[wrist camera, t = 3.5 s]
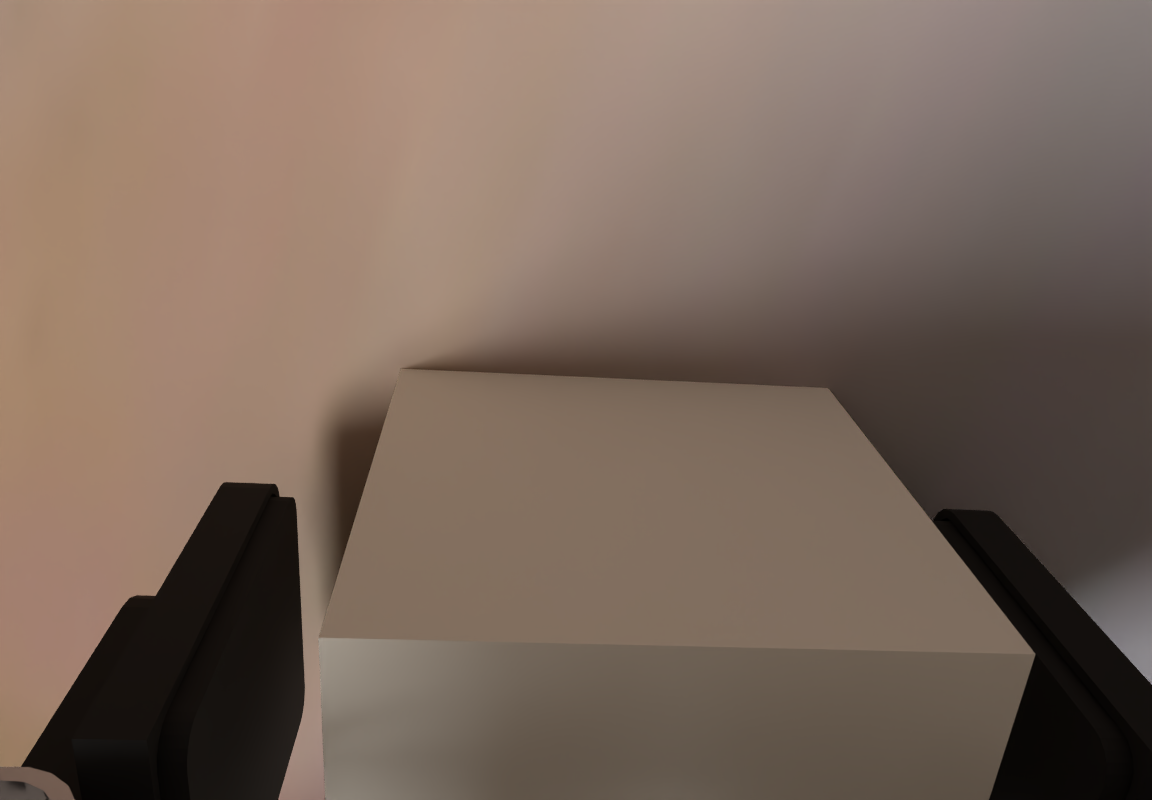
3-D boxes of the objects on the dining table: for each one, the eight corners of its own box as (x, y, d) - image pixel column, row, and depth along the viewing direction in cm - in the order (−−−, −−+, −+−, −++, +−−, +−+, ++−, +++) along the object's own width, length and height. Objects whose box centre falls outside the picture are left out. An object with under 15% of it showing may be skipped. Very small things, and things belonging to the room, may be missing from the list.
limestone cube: (826, 385, 11) (1035, 653, 7) (763, 715, 13) (892, 1098, 9) (400, 366, 11) (318, 638, 6) (401, 710, 13) (337, 1106, 8)
